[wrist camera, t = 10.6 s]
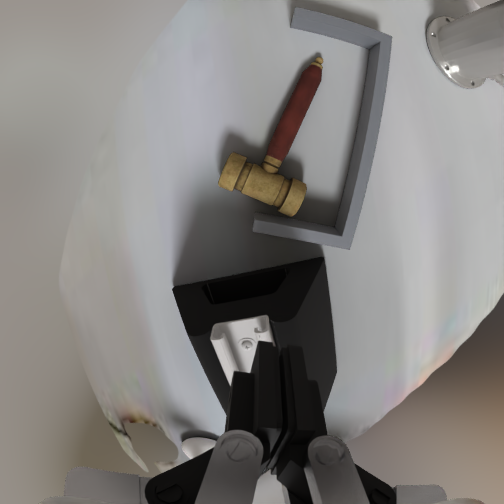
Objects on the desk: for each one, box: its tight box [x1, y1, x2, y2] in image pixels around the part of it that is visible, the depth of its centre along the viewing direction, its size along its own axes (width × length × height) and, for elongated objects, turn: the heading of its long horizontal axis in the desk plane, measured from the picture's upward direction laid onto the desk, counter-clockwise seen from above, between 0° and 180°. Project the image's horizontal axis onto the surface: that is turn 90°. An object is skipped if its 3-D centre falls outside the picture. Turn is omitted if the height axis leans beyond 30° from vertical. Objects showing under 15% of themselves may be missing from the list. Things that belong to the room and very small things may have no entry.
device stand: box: [172, 257, 337, 415], centre depth 39 cm, size 22×22×15 cm
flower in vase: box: [181, 437, 217, 459], centre depth 48 cm, size 13×11×25 cm
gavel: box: [218, 57, 323, 217], centre depth 33 cm, size 21×5×10 cm
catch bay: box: [252, 7, 392, 250], centre depth 32 cm, size 12×29×4 cm, turn 170°
